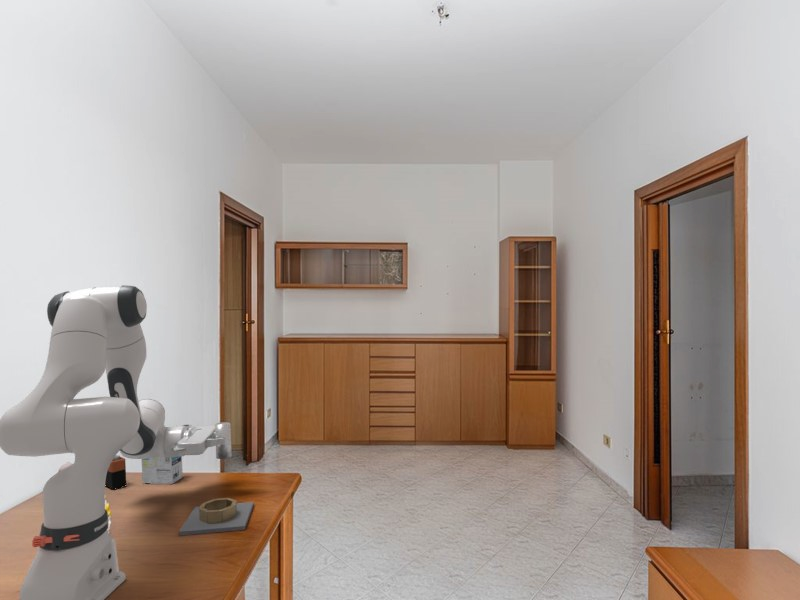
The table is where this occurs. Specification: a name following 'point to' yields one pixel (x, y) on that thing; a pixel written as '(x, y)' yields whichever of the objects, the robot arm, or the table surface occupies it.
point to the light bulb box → (162, 470)
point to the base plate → (234, 524)
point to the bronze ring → (218, 510)
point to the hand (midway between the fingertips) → (226, 438)
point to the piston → (225, 431)
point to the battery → (116, 473)
